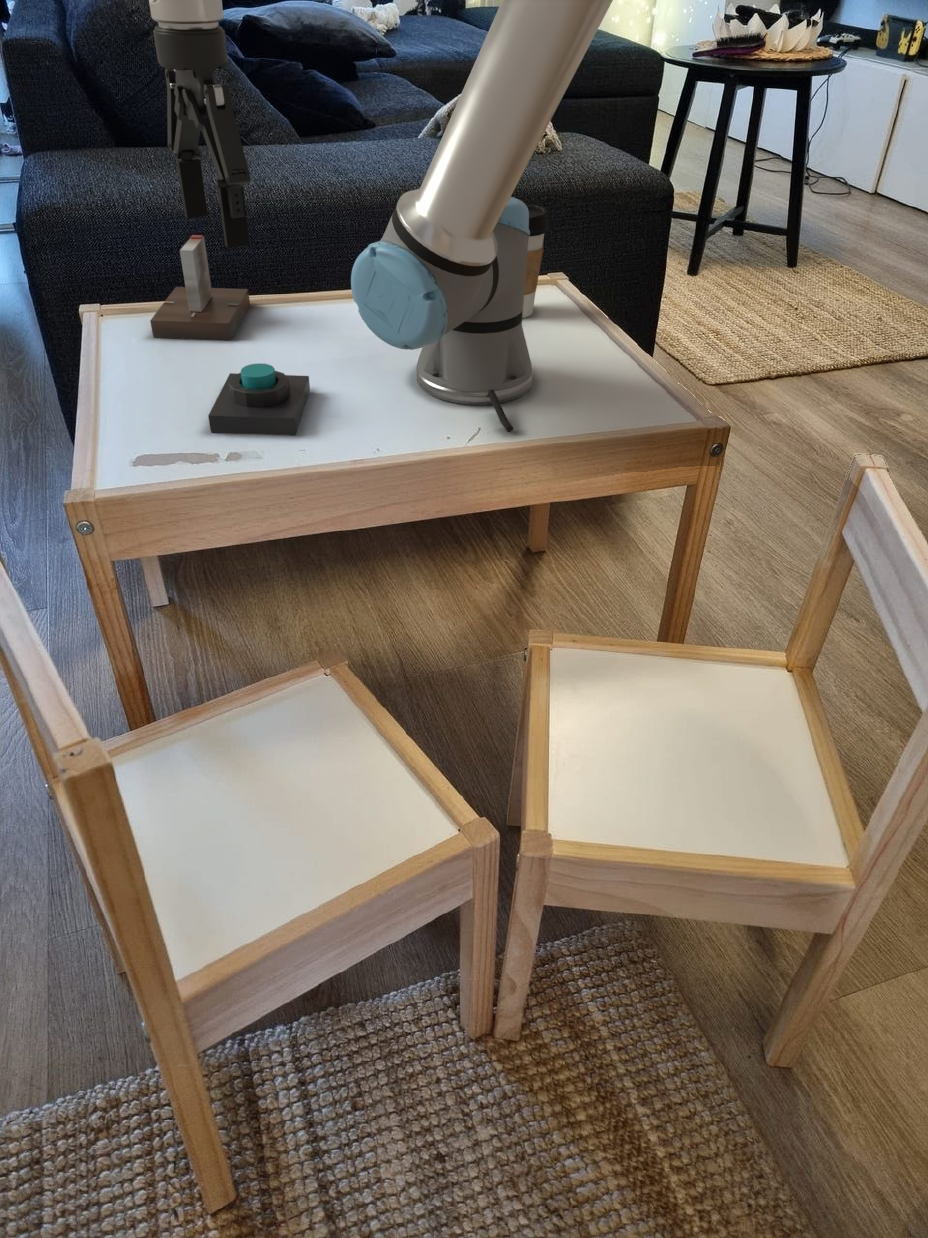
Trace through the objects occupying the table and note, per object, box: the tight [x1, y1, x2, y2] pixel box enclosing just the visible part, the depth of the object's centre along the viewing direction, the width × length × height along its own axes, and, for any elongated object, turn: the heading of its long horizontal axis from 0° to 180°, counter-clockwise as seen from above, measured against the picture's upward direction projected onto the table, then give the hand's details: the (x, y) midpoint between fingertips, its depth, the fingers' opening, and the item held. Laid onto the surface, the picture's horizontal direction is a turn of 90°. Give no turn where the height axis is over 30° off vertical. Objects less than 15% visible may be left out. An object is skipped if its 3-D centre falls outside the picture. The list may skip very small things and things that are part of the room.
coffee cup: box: [522, 204, 549, 319], centre depth 138 cm, size 8×8×15 cm
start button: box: [240, 362, 276, 389], centre depth 110 cm, size 4×4×2 cm
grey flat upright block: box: [179, 234, 212, 312], centre depth 131 cm, size 6×2×9 cm, turn 179°
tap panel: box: [149, 286, 251, 341], centre depth 135 cm, size 14×11×3 cm
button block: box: [208, 370, 311, 436], centre depth 112 cm, size 12×10×4 cm
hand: (216, 230), depth 112 cm, fingers open, 13 cm apart
